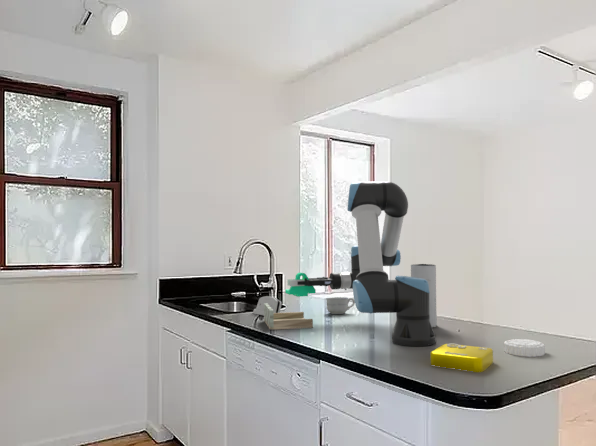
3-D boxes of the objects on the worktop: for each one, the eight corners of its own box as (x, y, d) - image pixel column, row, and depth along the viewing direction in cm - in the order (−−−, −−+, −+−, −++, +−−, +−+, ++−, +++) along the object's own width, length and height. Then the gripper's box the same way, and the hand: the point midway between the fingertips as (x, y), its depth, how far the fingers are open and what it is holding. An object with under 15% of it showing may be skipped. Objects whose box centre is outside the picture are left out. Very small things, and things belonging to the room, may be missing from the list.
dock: (312, 327, 211) (312, 308, 212) (270, 329, 208) (269, 310, 209) (303, 319, 233) (302, 302, 233) (264, 321, 230) (264, 303, 230)
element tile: (428, 367, 147) (427, 350, 147) (445, 356, 160) (444, 341, 160) (481, 374, 139) (480, 357, 139) (494, 362, 151) (494, 346, 151)
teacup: (324, 315, 245) (323, 298, 246) (329, 311, 256) (329, 295, 256) (352, 315, 241) (352, 299, 242) (356, 312, 252) (356, 296, 252)
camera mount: (310, 293, 231) (309, 271, 231) (315, 295, 224) (315, 272, 224) (284, 295, 227) (284, 272, 228) (289, 297, 220) (289, 273, 221)
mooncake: (514, 347, 171) (514, 336, 171) (551, 352, 162) (551, 341, 162) (497, 353, 163) (497, 341, 163) (534, 359, 154) (534, 347, 154)
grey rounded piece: (252, 313, 255) (257, 293, 257) (259, 315, 258) (265, 296, 260) (270, 317, 242) (276, 296, 244) (278, 319, 244) (284, 299, 247)
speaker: (439, 324, 214) (437, 263, 215) (435, 328, 205) (433, 264, 205) (414, 323, 219) (412, 262, 219) (408, 327, 209) (407, 264, 210)
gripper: (345, 291, 220) (293, 293, 214) (334, 287, 236) (284, 289, 230) (345, 273, 220) (292, 275, 214) (333, 271, 236) (284, 273, 231)
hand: (288, 282), depth 222 cm, fingers closed on camera mount, 3 cm apart
